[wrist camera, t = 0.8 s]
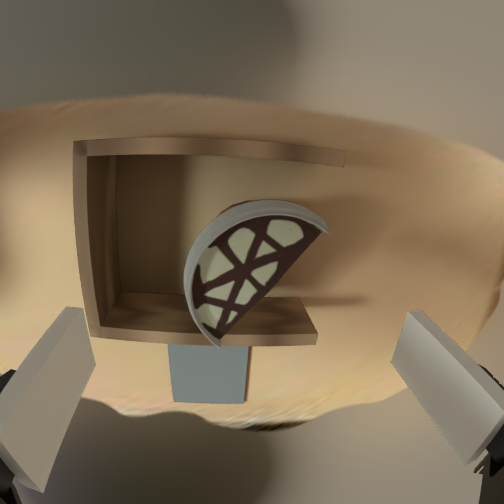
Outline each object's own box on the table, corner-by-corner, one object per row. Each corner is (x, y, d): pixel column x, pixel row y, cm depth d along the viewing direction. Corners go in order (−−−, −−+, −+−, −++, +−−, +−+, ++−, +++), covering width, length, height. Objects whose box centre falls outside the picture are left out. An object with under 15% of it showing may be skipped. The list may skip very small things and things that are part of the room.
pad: (174, 399, 35) (173, 401, 35) (165, 306, 31) (165, 308, 31) (243, 401, 36) (243, 403, 36) (251, 309, 32) (251, 311, 32)
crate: (112, 300, 30) (90, 336, 24) (105, 142, 25) (73, 141, 19) (297, 307, 33) (315, 344, 26) (316, 150, 28) (345, 151, 21)
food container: (250, 159, 27) (266, 163, 18) (298, 202, 29) (335, 227, 20) (167, 257, 29) (145, 306, 20) (215, 294, 31) (215, 353, 22)
